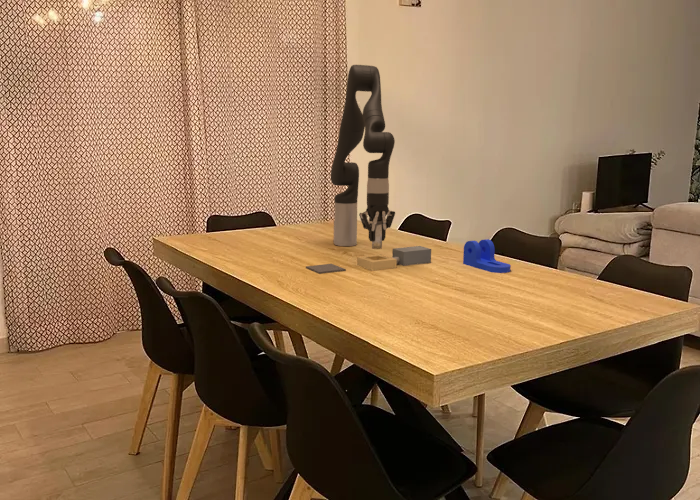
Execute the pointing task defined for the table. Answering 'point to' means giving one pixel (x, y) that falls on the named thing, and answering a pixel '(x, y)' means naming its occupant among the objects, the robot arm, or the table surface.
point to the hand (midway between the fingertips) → (376, 240)
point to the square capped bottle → (378, 236)
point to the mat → (325, 268)
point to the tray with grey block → (396, 258)
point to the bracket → (483, 257)
